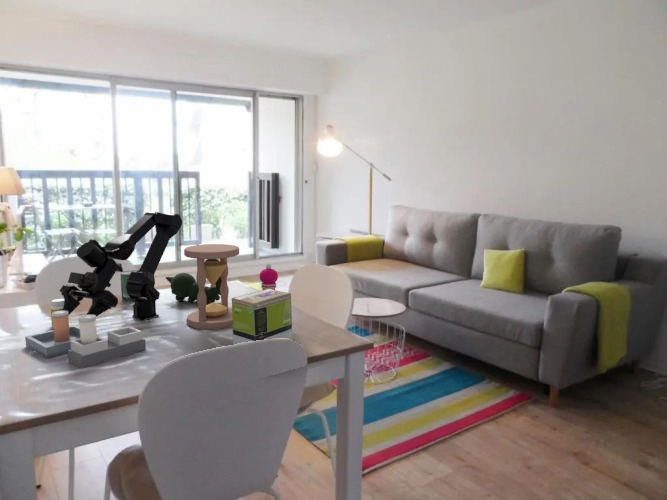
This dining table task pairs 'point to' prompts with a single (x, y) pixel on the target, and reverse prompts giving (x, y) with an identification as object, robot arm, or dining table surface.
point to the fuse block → (107, 347)
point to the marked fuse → (61, 326)
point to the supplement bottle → (57, 306)
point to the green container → (125, 294)
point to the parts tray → (51, 343)
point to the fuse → (87, 329)
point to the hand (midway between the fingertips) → (73, 320)
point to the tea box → (262, 316)
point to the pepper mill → (268, 278)
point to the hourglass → (212, 270)
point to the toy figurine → (192, 287)
